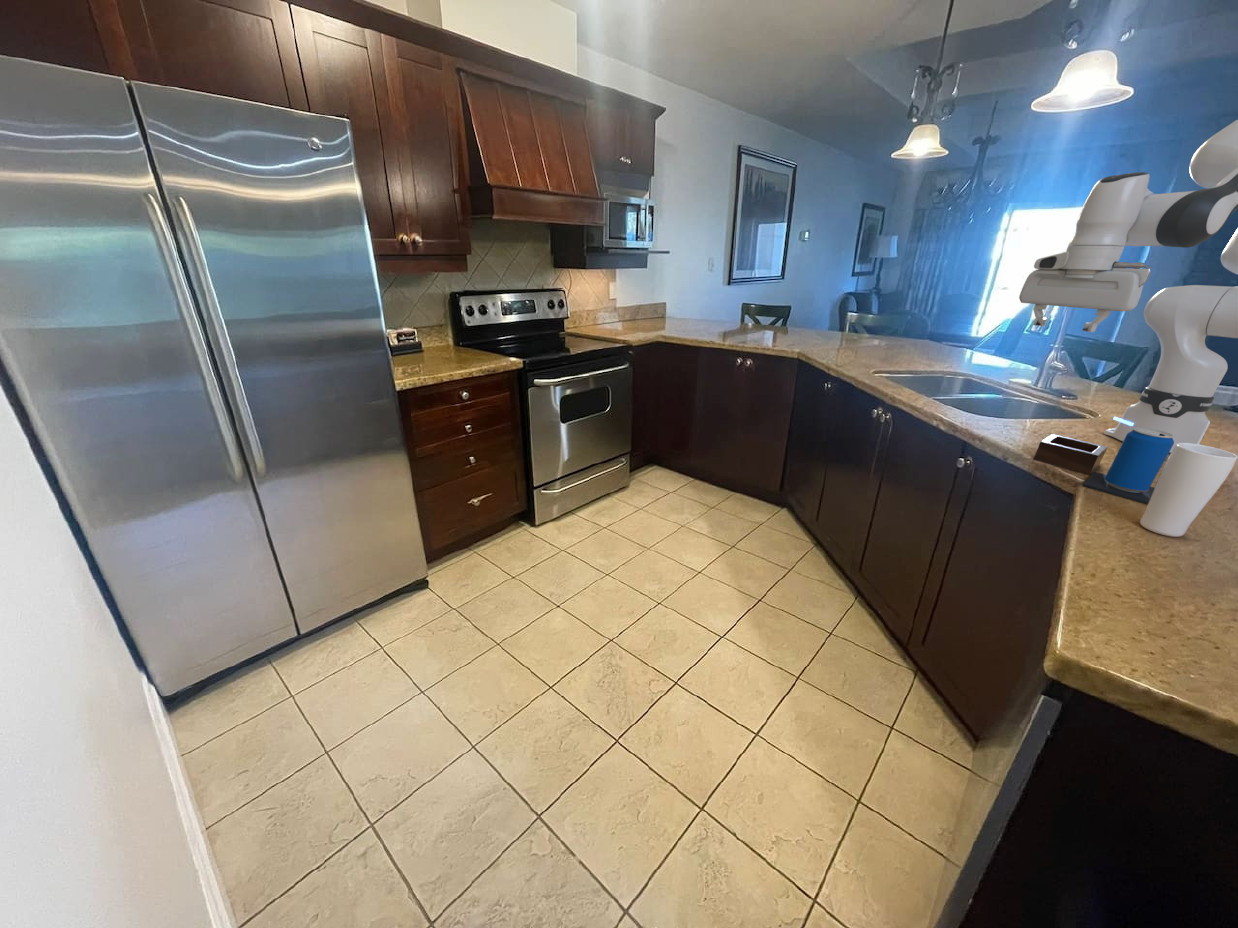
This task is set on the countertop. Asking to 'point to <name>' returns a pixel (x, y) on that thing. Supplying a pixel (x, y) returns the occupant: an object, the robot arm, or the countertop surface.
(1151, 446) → the beverage can
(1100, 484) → the coaster
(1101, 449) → the box
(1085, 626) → the countertop surface
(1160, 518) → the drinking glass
